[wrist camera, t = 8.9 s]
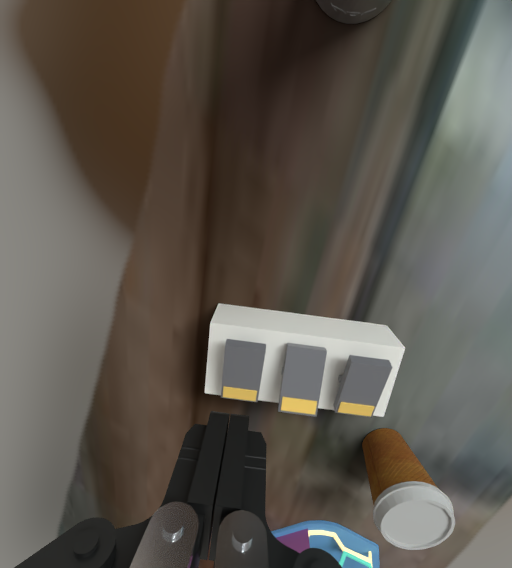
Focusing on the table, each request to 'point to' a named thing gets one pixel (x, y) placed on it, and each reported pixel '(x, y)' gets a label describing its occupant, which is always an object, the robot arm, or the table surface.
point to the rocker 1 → (242, 370)
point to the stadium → (331, 542)
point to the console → (307, 331)
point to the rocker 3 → (362, 385)
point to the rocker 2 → (302, 379)
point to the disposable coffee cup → (404, 494)
